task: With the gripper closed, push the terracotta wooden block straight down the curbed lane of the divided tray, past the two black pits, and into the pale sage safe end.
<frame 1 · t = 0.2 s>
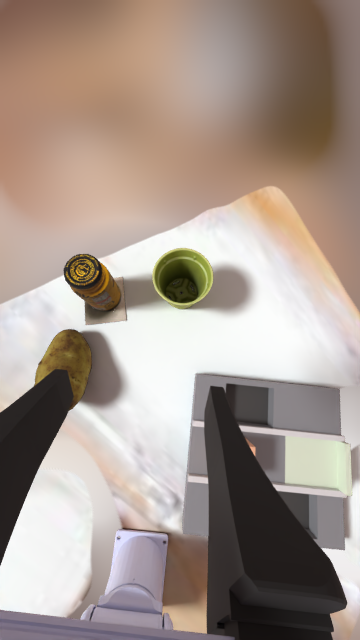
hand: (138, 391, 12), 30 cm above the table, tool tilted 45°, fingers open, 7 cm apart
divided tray: (260, 451, 40), on the table
condiment: (105, 301, 45), on the table
potato: (75, 369, 42), on the table
plant pot: (181, 293, 45), on the table
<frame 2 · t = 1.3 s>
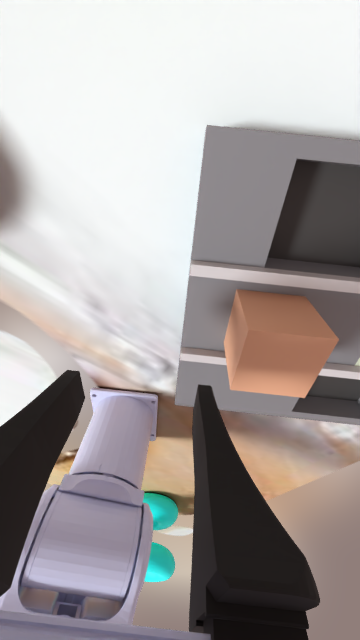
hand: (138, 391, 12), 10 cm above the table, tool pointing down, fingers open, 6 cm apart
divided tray: (324, 312, 21), on the table
terracotta block: (261, 321, 19), point 2 cm above the table, touching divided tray
donuts: (152, 500, 46), on the table
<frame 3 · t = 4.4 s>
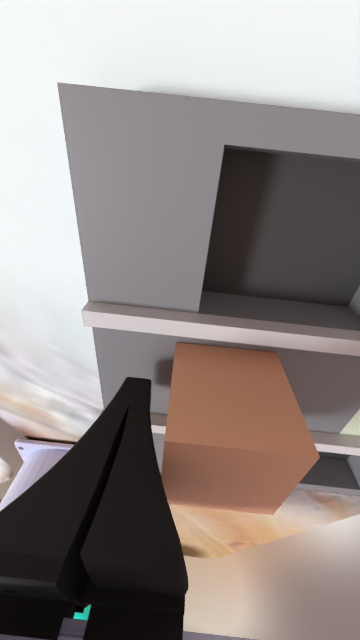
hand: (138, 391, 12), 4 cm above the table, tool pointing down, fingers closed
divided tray: (298, 361, 15), on the table
terracotta block: (217, 381, 13), point 3 cm above the table, touching gripper
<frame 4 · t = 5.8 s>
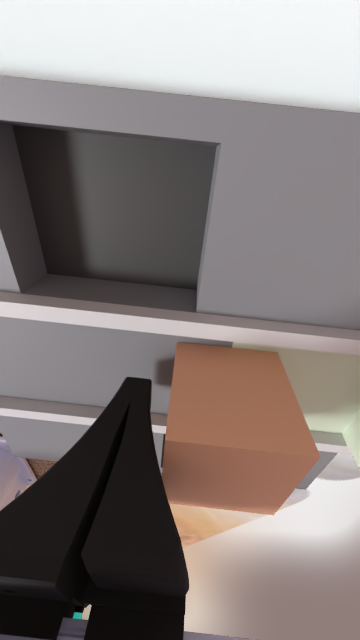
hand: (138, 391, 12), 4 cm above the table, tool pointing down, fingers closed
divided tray: (172, 346, 15), on the table
terracotta block: (218, 381, 13), point 3 cm above the table, touching gripper
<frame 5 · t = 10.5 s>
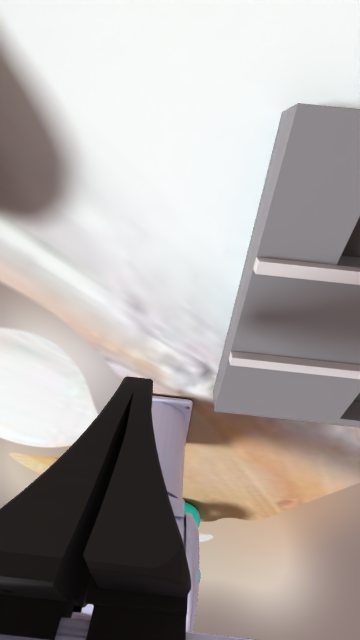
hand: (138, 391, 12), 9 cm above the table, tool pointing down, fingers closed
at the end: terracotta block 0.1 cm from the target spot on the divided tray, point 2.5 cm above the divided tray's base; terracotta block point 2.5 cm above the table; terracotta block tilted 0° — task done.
